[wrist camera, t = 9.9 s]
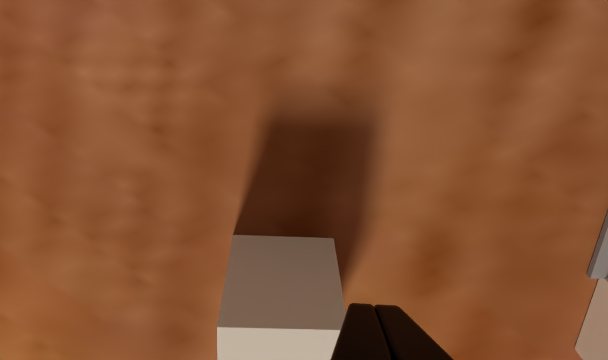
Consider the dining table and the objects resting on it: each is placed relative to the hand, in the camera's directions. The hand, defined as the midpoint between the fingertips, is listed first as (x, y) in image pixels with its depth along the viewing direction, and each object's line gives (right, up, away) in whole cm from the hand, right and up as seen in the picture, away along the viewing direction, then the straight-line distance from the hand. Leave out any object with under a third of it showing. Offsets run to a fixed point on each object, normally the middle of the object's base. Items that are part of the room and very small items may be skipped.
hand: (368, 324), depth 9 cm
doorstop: (-2, -2, +13) cm, 13 cm away
